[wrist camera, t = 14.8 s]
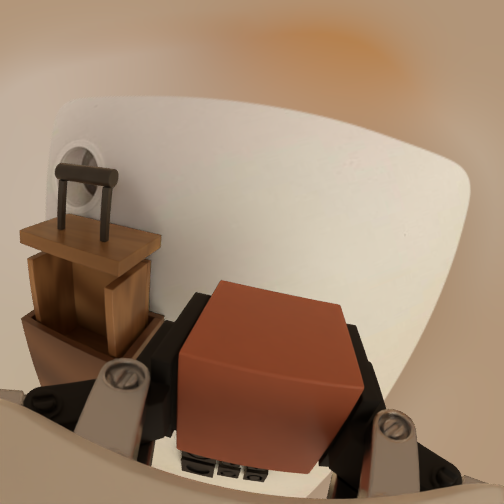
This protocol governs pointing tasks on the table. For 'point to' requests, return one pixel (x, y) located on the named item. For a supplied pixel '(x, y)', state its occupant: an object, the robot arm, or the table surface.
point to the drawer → (90, 270)
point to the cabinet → (73, 352)
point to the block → (265, 379)
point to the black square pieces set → (219, 468)
